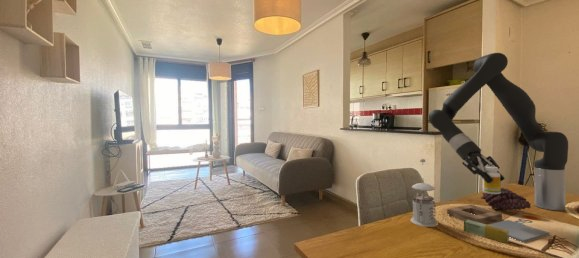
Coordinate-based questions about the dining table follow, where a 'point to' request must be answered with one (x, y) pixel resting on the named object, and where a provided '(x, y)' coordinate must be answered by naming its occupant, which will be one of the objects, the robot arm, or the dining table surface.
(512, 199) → the pine cone
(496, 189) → the supplement bottle
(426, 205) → the french press
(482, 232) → the medication box
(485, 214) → the walnut collar
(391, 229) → the dining table surface
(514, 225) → the slate pad
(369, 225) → the dining table surface
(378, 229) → the dining table surface
